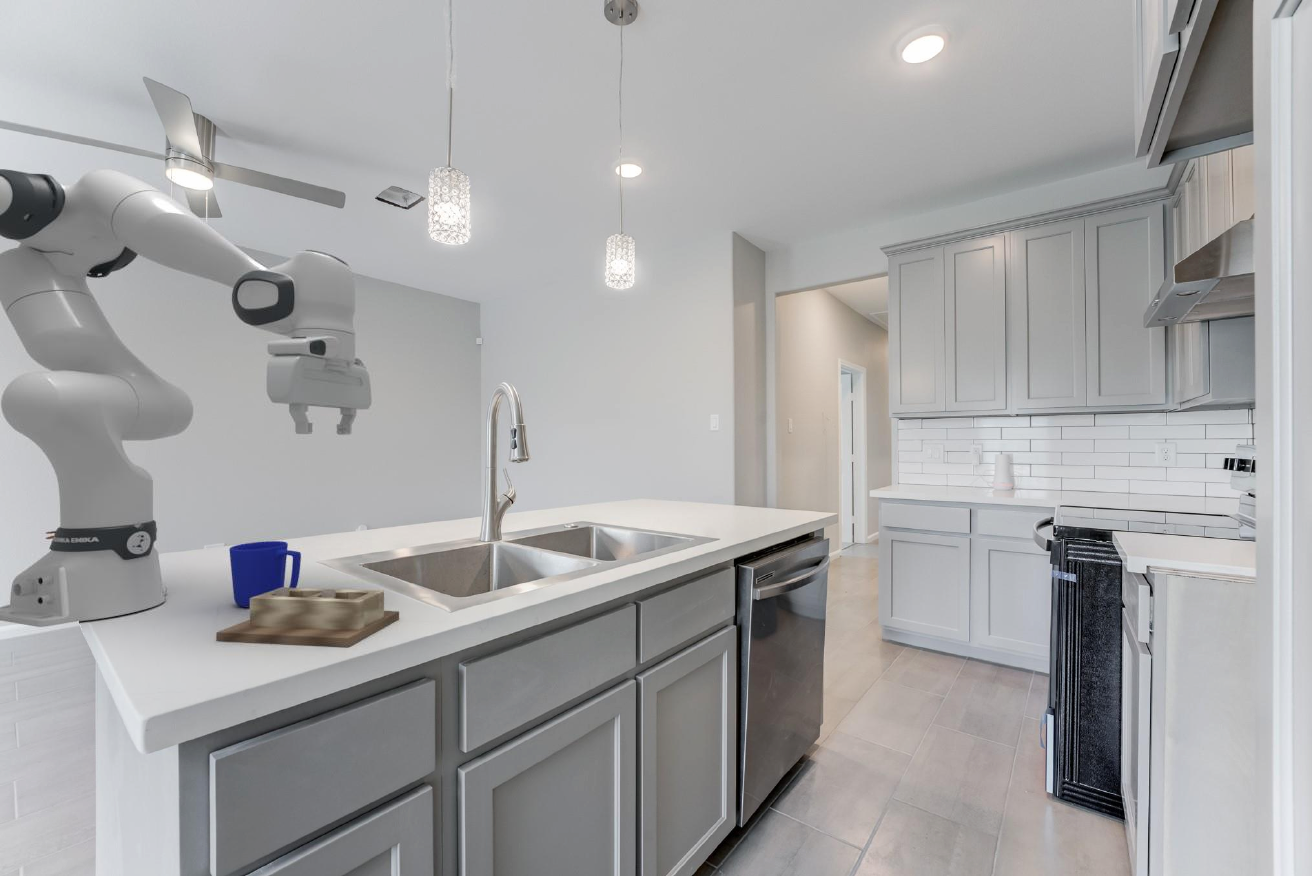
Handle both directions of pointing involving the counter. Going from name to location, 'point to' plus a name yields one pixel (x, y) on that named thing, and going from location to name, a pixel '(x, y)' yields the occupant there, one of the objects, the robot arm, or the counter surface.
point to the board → (303, 631)
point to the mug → (261, 569)
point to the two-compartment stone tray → (317, 609)
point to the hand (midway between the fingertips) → (325, 434)
